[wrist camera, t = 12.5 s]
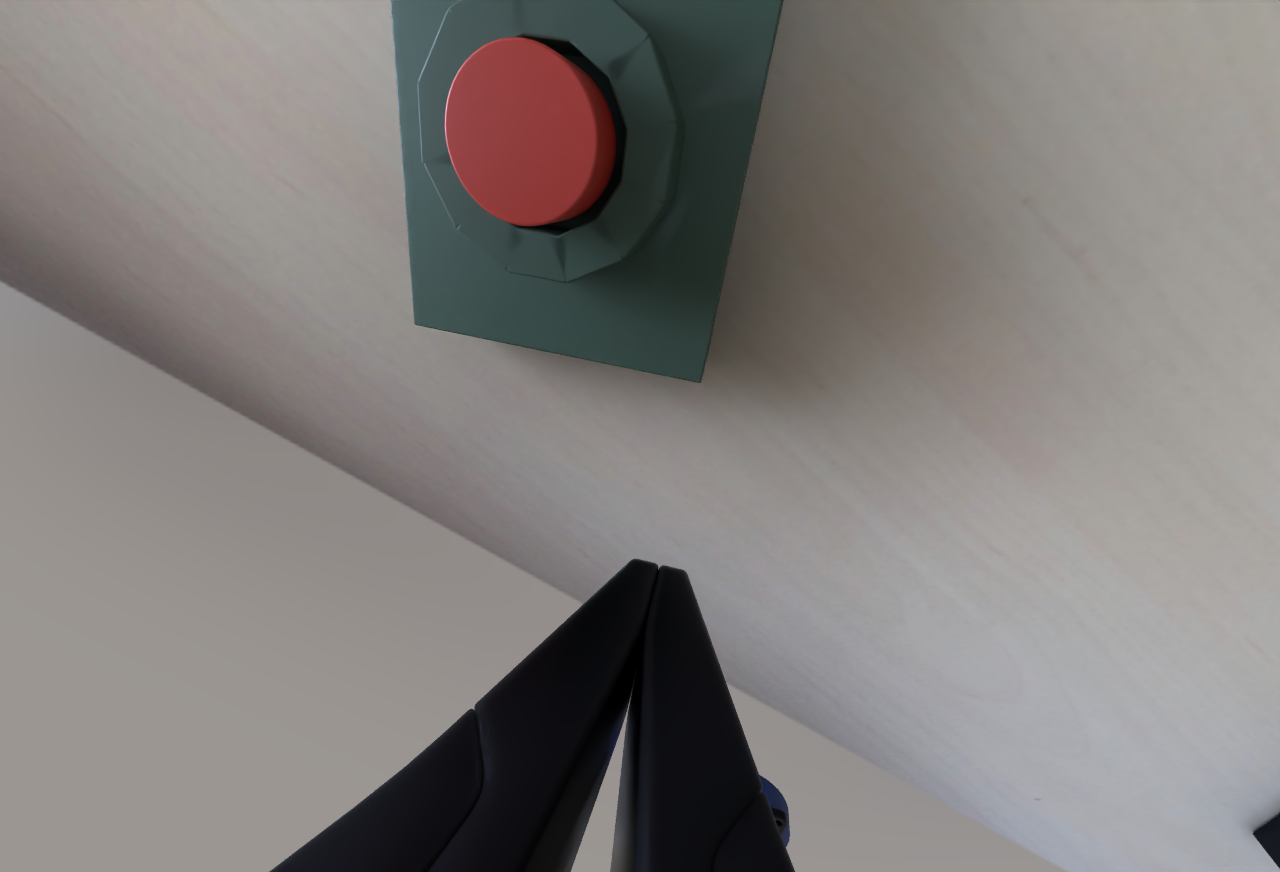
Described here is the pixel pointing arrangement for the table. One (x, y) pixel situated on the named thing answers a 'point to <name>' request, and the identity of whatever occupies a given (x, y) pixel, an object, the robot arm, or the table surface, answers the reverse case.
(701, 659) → the robot arm
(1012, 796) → the table surface
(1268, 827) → the panel
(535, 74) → the button
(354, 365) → the table surface
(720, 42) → the button block
